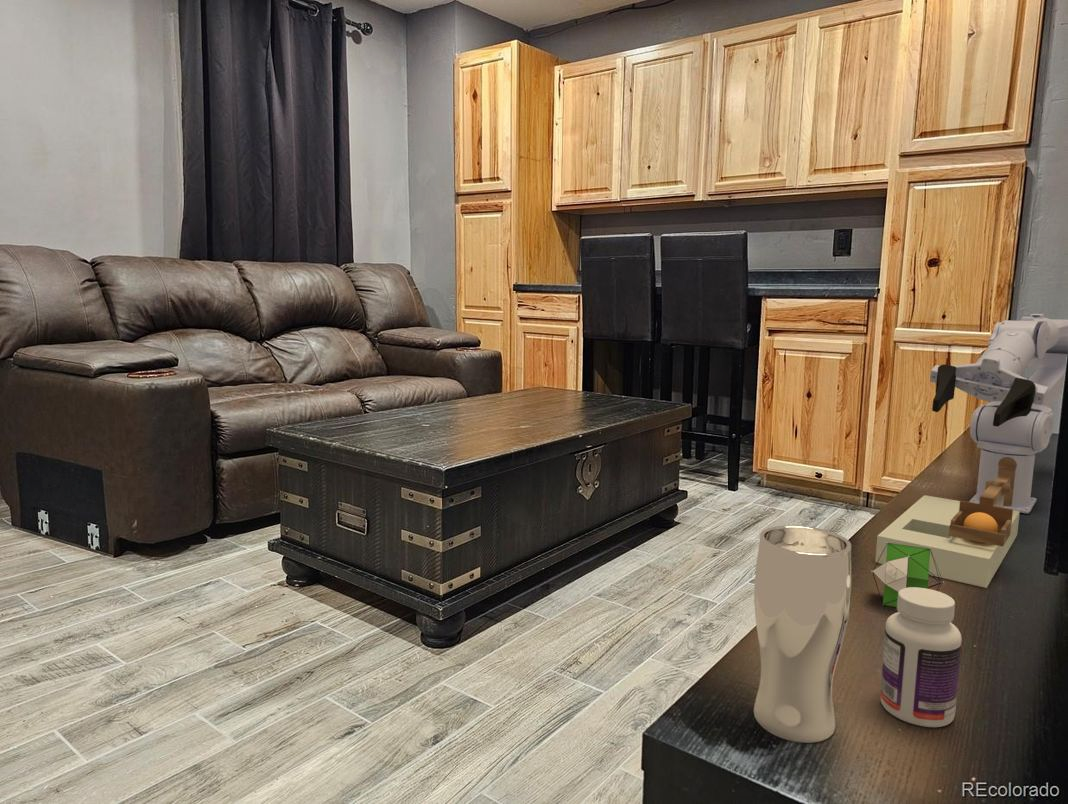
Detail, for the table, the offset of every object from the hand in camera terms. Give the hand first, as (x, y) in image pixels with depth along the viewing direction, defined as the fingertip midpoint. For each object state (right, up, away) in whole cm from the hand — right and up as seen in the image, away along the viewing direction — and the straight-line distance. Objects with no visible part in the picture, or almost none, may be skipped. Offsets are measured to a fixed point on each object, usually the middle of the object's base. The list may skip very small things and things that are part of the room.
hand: (965, 412), depth 99 cm
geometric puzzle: (-19, -21, -21) cm, 35 cm away
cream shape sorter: (-4, -18, -4) cm, 19 cm away
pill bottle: (-29, -24, -41) cm, 55 cm away
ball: (-5, -14, -12) cm, 19 cm away
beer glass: (-39, -24, -42) cm, 62 cm away
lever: (0, -14, -6) cm, 15 cm away
